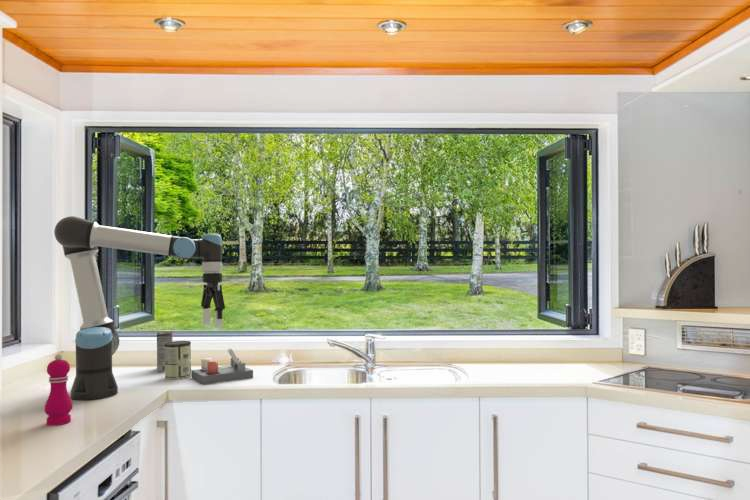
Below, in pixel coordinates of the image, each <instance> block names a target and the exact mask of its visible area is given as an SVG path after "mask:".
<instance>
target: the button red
mask: <svg viewBox="0 0 750 500" xmlns="http://www.w3.org/2000/svg"><path fill="white" fill-rule="evenodd" d="M218 367H219V360H212V361H208V375H212V374H218Z"/></svg>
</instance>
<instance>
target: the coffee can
mask: <svg viewBox="0 0 750 500" xmlns="http://www.w3.org/2000/svg"><path fill="white" fill-rule="evenodd" d="M191 344H192V342H191V341H189V340H175V341H174V340H173V342H167V343H164V346H165V371H164V378H165V379H166V380H182V379H183V378H184V379H187V378H190V377H191V370H192V367H191V366H192V361H191V358H192V357H191V354H192V353H191V352H192V351H191Z"/></svg>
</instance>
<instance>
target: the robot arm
mask: <svg viewBox="0 0 750 500" xmlns="http://www.w3.org/2000/svg"><path fill="white" fill-rule="evenodd" d="M54 238H55V240H56V241H57V242H58V244H60V245H61V247H62V249H63V250H62V251H63V255H64V257H65V258H66V259H67V260H69V261H70V265H71V269H72V274H73V279H74V284H75V289H76V293H77V298H78V303H79V307H80V312H81V317H82V321H83V322H82V324H81V326H80V328H79V329H80V330H78V331H77V332H76V334H75V340H74V342H75V378H74V379H73V383H72V386H71V388H70V395H69V396H70V398H71V400H79V401H80V400H81V401H83V400H84V401H85V400H86V401H87V400H88V401H89V400H97V399H104V398H110V397H113V396H115V395H117V394H118V392H119V389H118V388H119V387H118V384H117V380H116V379H115V376H114V373H113V355H114V354H115V353H116V352H117V350H118V348H119V346H120V336H119V334H118V333H117V331H116V326H115V323H114V320H113V319H111V318H110V317H109V315H108V310H107V306H106V299H105V295H104V291H103V286H102V281H101V276H100V272H99V268H98V262H97V258H96V256H97V254H98V252H99V247H102V248H108V249H109V248H110V249H117V250H124V251H131V252H139V253H148V254H154V255H155V254H156V255H163V256H169V257H171V258H173V259H201V258H202V265H201V266H202V269H201V270H202V272H203V274H202V283H205V284H203V291H202V297H201V302H200V306H201V307H202V311H203V312H202V318H203V321H202V324H203V326H205V325H211V308H212V307H211V304H212V301H213V305H214V306H215V308H214V321H215V322H214V326H215V327H214V328H216V329H218V328H219V329H220V328H223V327H224V326H223V325H224V323H223V320H224V317H223V311H224V310H225V309H226V306H225V299H224V295H223V290H222V289H223V286H222V284H219V283H222V282H223V273H221V272H222V271H223V266H224V264H223V242H222V241H223V240H222V239H223V238H222V236H221V235H220V234H219V233H204V234H202V237H201V238H197V239H196V238H190V237H187V236H177V235H172V234H171V235H169V234H162V233H156V232H150V231H149V232H147V231H141V230H135V229H129V228H120V227H116V226H115V227H114V226H108V225H107V226H106V225H100V224H99V223H98V222H97V221H93V220H88V219H85V218H81V217H78V216H75V215H72V216H66V217H63V218H62V219H60V220H58V222H57V223H56V225H55V227H54Z"/></svg>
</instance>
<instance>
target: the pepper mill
mask: <svg viewBox="0 0 750 500" xmlns="http://www.w3.org/2000/svg"><path fill="white" fill-rule="evenodd" d="M62 358H63V356H62V355H61V354H59V353H58V354H55V356H54V359H55V360H52V361H50V362H49V363H48V364H47V366H46V373H47V374H48V375H49V377H48V383H50V392H49V395H48V396H47V397H48V398H47V400H46V402H45V405H44V413H45V414H46V415H47V417H46V425H47V426H61V425H67V424H69V423H70V422H72V421H71V420H72V419H71V418H72V416H71V414H70V412H71V411H72V410H73V401H72V398H71V397H70V395H69V392H68V389H67V381H69V375H68V373H69V372H70V370H71V365H70V363H69V362H68V361H67V360H66V359H62Z"/></svg>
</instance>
